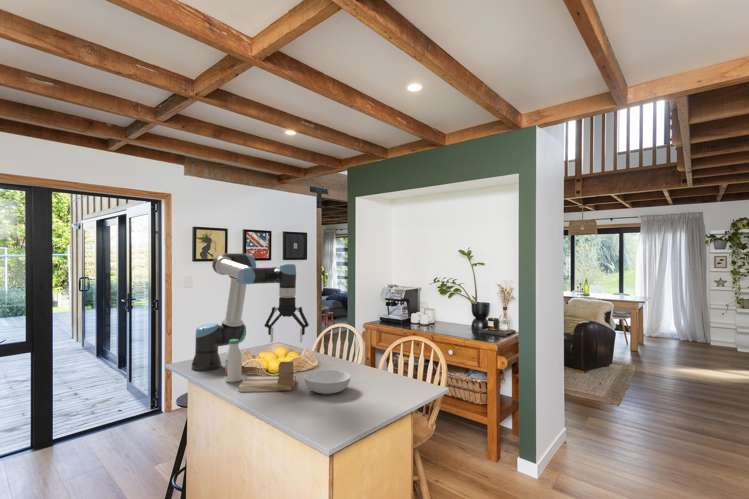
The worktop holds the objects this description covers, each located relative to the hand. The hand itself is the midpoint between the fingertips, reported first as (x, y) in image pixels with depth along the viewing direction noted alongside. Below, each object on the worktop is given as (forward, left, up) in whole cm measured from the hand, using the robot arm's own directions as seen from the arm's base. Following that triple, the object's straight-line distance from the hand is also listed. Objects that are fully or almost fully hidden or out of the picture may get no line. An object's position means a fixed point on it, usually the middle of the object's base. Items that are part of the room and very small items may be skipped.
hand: (286, 342), depth 182 cm
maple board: (-3, -8, -21) cm, 23 cm away
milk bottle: (-13, -27, -22) cm, 37 cm away
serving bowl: (+5, +20, -22) cm, 30 cm away
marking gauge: (+1, 0, -21) cm, 21 cm away
